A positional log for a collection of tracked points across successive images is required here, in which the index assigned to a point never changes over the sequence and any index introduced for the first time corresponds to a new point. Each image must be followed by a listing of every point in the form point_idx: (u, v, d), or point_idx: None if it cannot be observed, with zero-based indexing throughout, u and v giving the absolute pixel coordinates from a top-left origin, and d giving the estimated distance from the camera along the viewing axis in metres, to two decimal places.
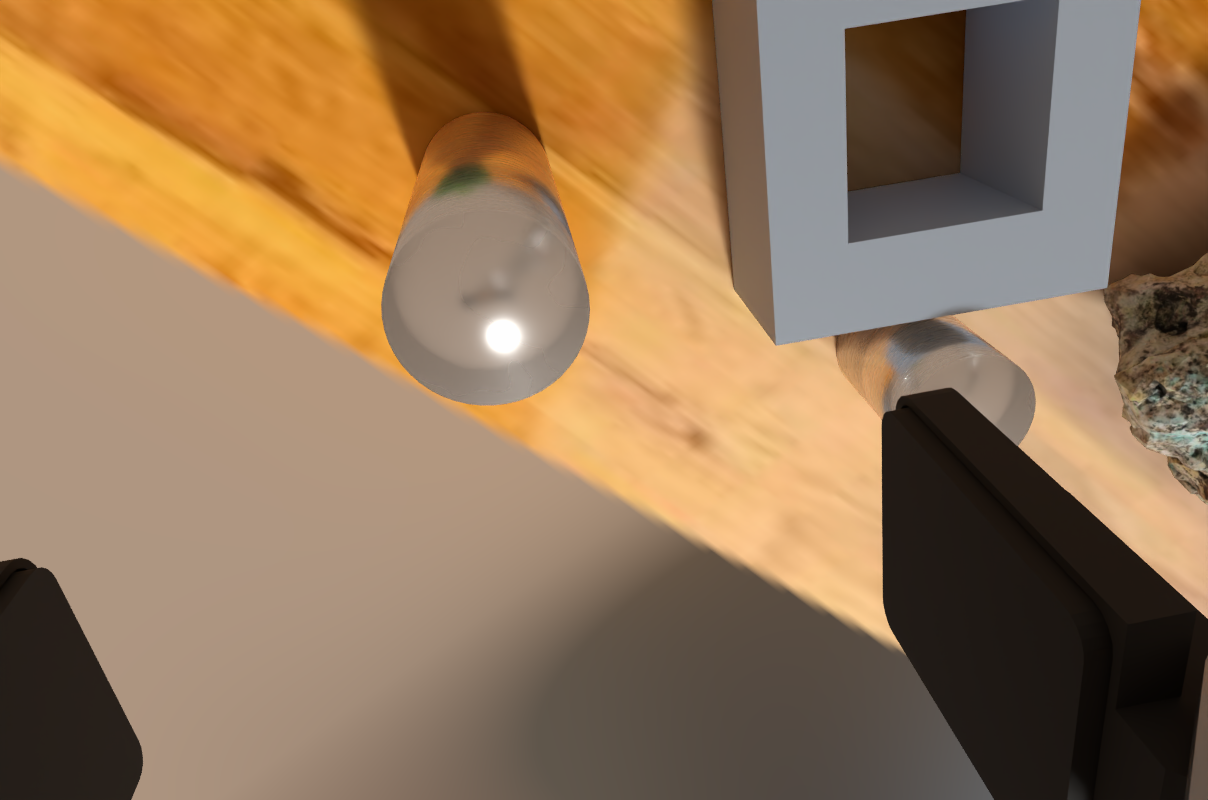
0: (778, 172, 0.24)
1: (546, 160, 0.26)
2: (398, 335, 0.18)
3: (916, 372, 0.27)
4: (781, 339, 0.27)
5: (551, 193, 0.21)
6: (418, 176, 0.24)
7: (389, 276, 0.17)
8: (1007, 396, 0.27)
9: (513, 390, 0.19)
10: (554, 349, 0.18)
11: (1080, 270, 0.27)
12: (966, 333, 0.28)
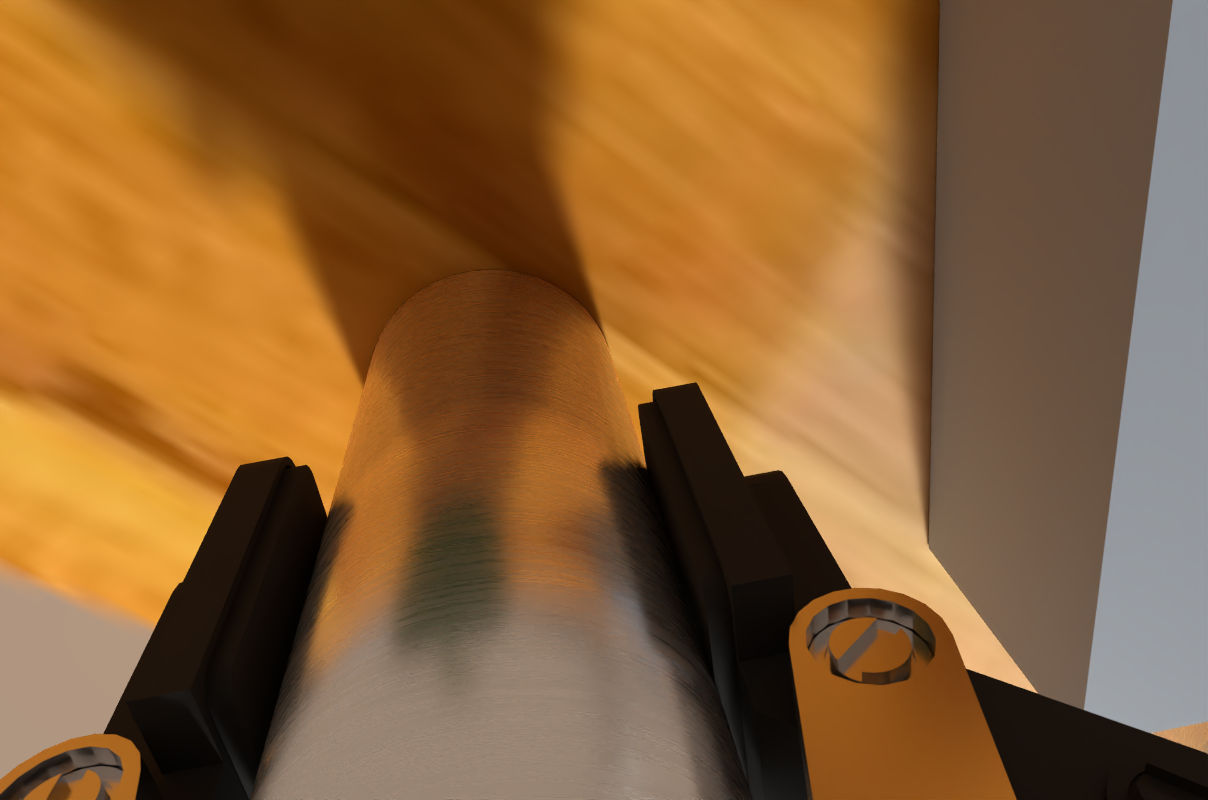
0: (1142, 445, 0.11)
1: (616, 382, 0.13)
2: None
3: None
4: None
5: (673, 607, 0.08)
6: (344, 467, 0.11)
7: None
8: None
9: None
10: None
11: None
12: None
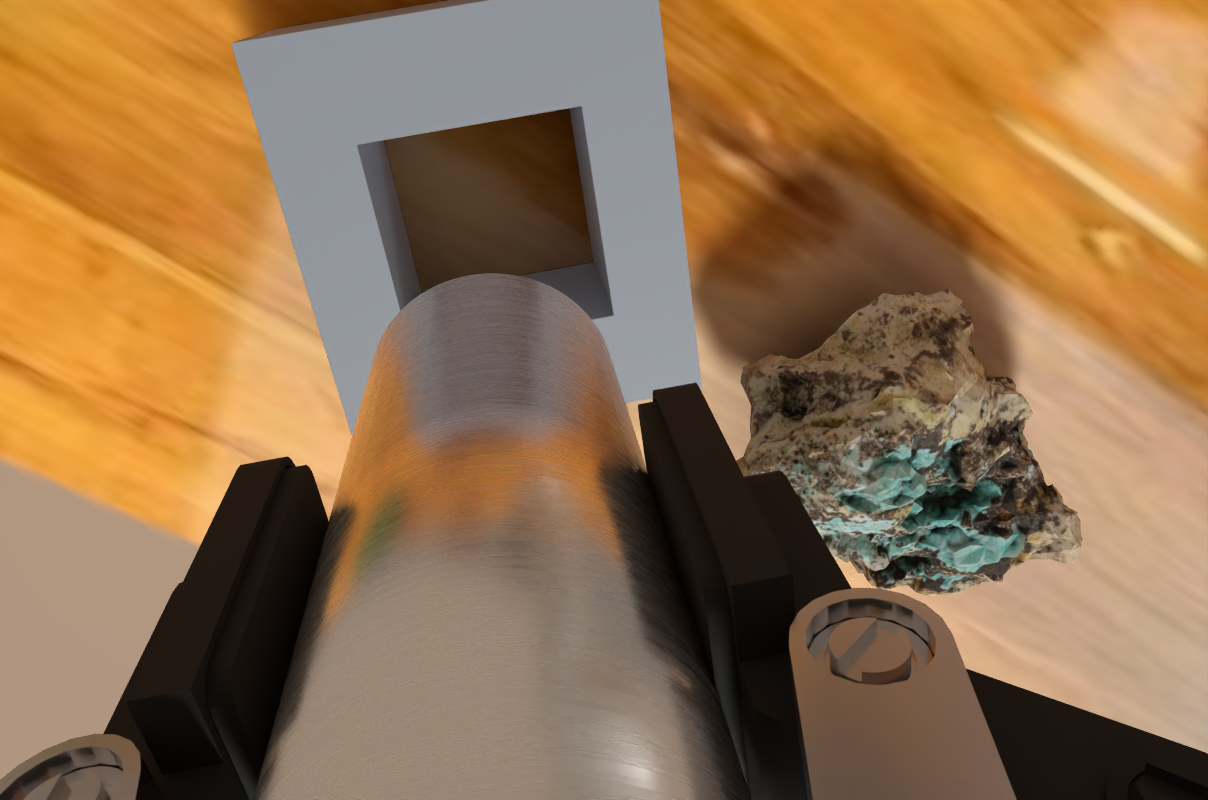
0: (318, 285, 0.24)
1: (616, 386, 0.13)
2: None
3: None
4: None
5: (674, 614, 0.08)
6: (345, 471, 0.11)
7: None
8: None
9: None
10: None
11: (668, 372, 0.26)
12: None
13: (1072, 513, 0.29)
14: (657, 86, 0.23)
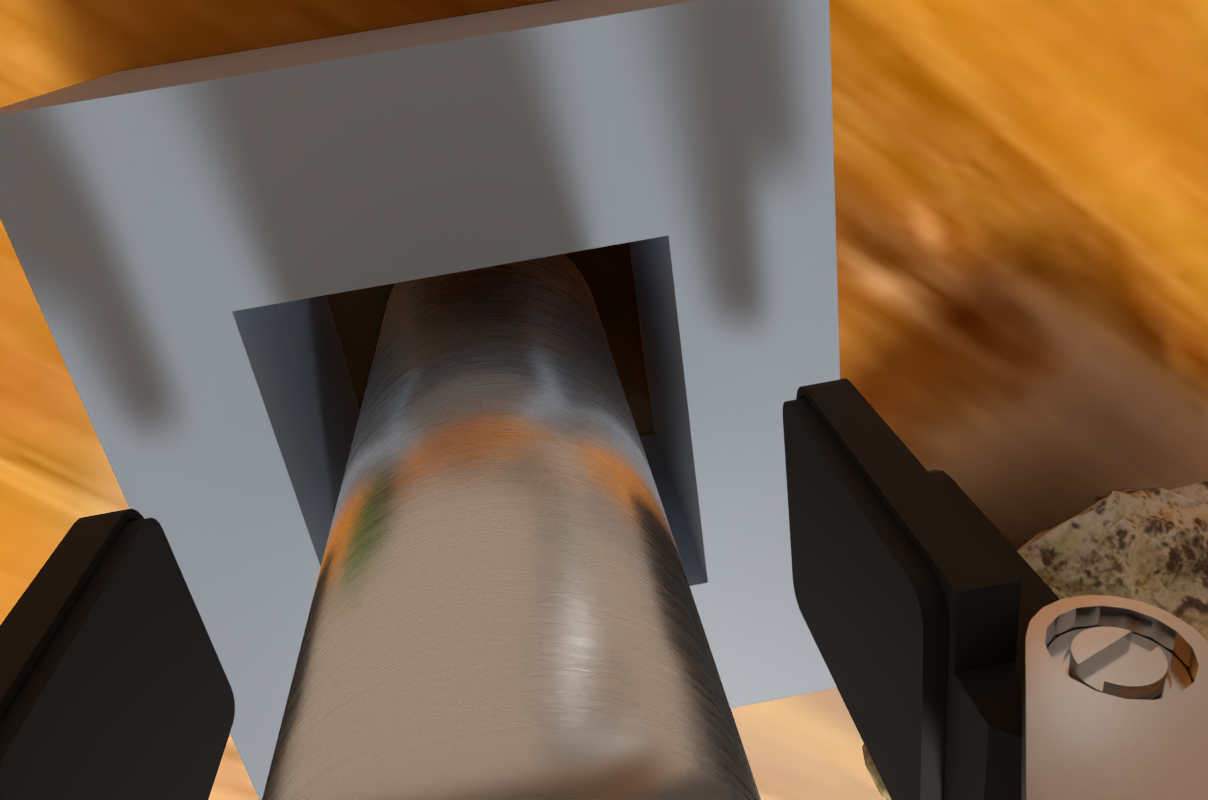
0: (174, 552, 0.13)
1: (598, 320, 0.15)
2: None
3: None
4: None
5: (637, 469, 0.10)
6: (370, 380, 0.13)
7: None
8: None
9: None
10: None
11: (795, 664, 0.15)
12: None
13: None
14: (814, 198, 0.12)
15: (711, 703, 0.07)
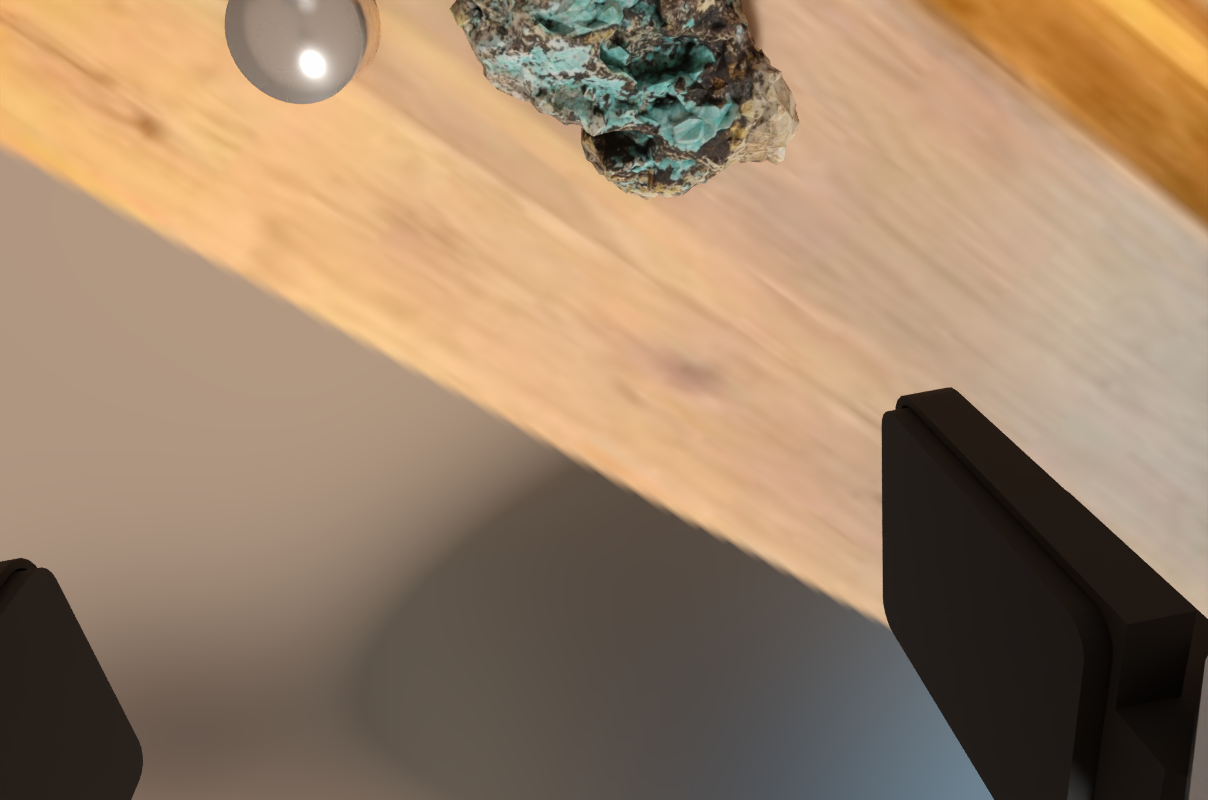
0: None
1: None
2: None
3: None
4: None
5: None
6: None
7: None
8: (325, 11, 0.28)
9: None
10: None
11: None
12: None
13: (775, 71, 0.31)
14: None
15: None
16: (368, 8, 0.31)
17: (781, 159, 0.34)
